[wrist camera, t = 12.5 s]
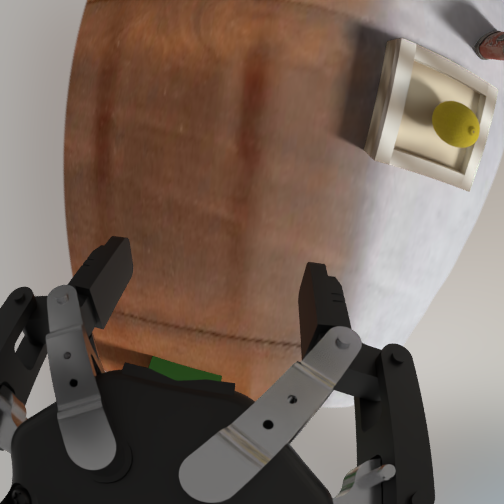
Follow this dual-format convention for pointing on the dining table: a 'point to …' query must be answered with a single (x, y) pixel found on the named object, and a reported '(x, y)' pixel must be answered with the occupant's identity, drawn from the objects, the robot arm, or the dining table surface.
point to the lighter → (491, 46)
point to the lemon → (455, 124)
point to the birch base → (426, 114)
